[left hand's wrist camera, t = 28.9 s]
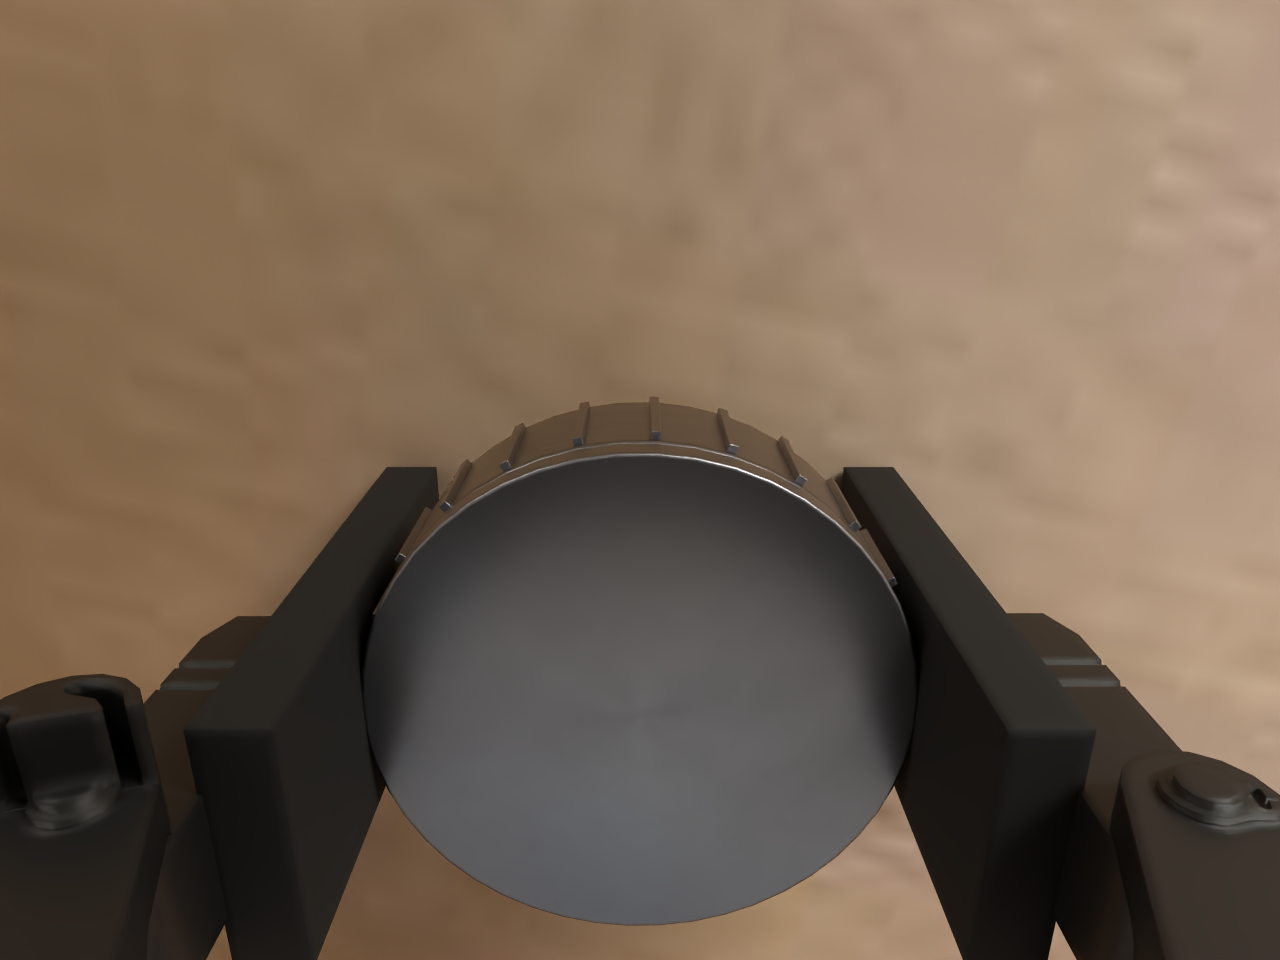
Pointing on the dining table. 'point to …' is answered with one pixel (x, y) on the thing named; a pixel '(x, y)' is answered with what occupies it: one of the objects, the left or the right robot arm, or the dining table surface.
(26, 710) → the left robot arm
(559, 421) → the lid
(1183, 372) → the dining table surface
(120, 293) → the dining table surface
